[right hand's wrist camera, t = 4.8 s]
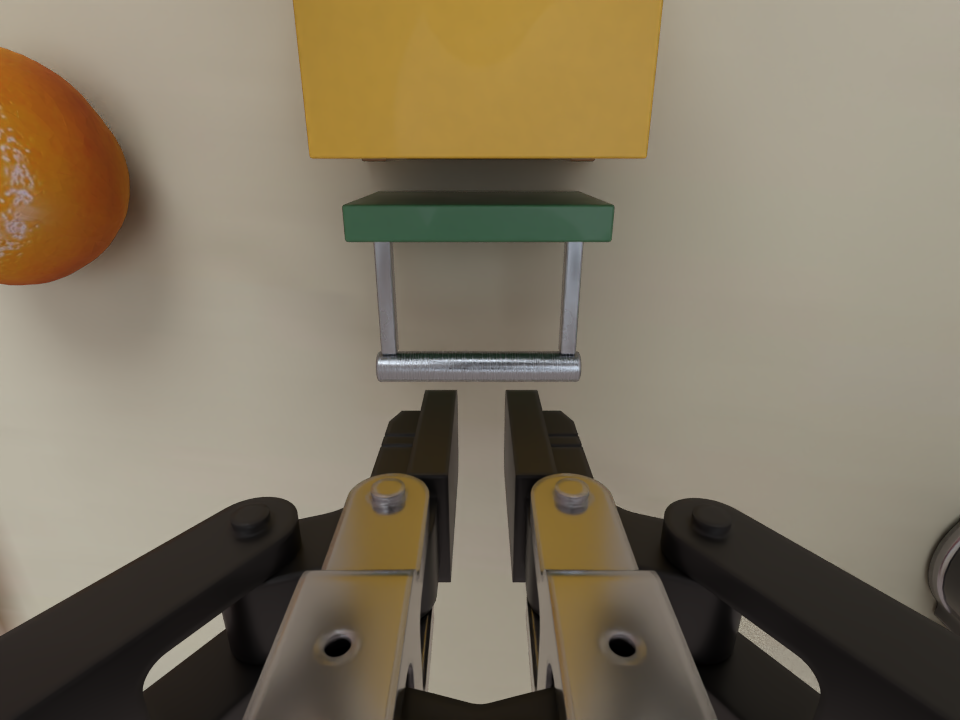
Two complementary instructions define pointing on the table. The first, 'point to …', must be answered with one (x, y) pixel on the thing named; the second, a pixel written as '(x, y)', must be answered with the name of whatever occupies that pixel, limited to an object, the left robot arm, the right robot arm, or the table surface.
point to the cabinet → (477, 78)
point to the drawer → (478, 222)
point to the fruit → (54, 176)
